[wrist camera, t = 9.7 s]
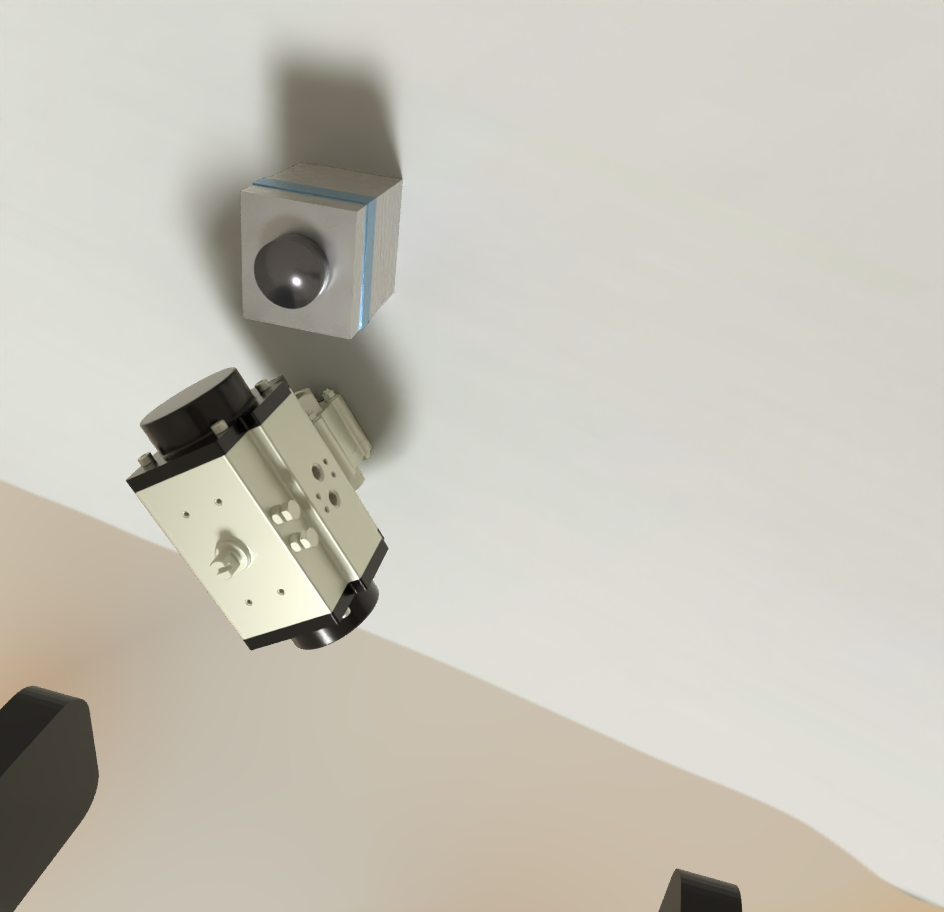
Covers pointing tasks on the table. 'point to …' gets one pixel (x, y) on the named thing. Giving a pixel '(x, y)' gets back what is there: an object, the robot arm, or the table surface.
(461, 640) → the table surface
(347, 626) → the pneumatic valve
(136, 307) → the table surface
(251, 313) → the grey box with knob
